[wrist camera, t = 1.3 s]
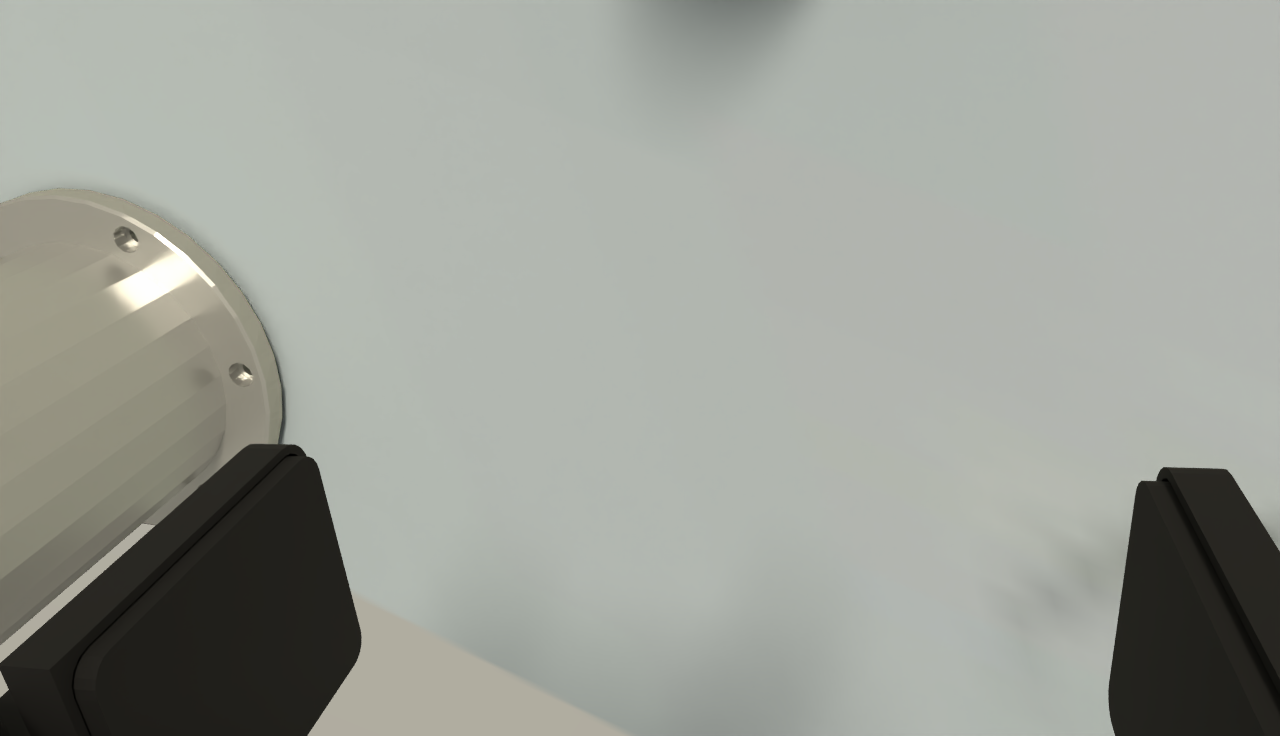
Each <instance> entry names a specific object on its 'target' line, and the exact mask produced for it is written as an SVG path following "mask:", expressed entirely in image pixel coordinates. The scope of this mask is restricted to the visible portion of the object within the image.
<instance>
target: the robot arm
mask: <svg viewBox="0 0 1280 736" xmlns="http://www.w3.org/2000/svg"><path fill="white" fill-rule="evenodd" d="M281 423H282V389H281V383H280V379H279V375H278V370H277V366H276V361H275V357H274V354H273V352H272V349H271V347H270V344H269V342H268V339H267V337H266V335H265V332H264V330H263V327H262V325H261V323H260V321H259V319H258V318H257V316H256V314H255V313H254V311H253V310H252V308H251V306H250V305H249V303H248V301H247V300H246V298H245V296H244V295H243V293H242V291H241V290H240V289H239V288H238V287H237V285H236V284H235V283H234V282H233V281H232V279H231V278H230V277H229V276H228V275H227V273H226V272H225V271H224V270H223V268H222V267H221V266H220V265H219V264H218V262H217V261H216V260H214V259H213V258H212V257H211V256H210V255H209V254H208V253H207V252H206V251H204V250H203V249H202V248H201V247H200V246H199V245H198V244H197V243H196V242H195V241H193V240H192V239H191V238H190V237H189V236H188V235H186V234H185V233H183V232H182V231H180V230H179V229H177V228H176V227H174V226H173V225H171V224H170V223H168V222H167V221H165V220H164V219H162V218H161V217H159V216H158V215H156V214H154V213H152V212H150V211H148V210H146V209H143V208H141V207H139V206H137V205H135V204H133V203H130V202H128V201H126V200H124V199H121V198H117V197H113V196H110V195H106V194H102V193H98V192H95V191H91V190H78V189H62V188H57V189H50V190H44V191H38V192H32V193H28V194H25V195H23V196H20V197H17V198H15V199H12V200H9V201H6V202H3V203H0V645H1V644H2V643H3V642H5V641H6V640H7V639H8V638H9V637H10V636H11V635H13V634H14V633H15V632H16V631H17V630H18V629H20V628H21V627H22V626H23V625H24V624H26V623H27V622H28V621H29V620H30V619H31V618H33V617H34V616H35V615H36V614H37V613H38V612H40V611H41V610H42V609H43V608H44V607H45V606H46V605H48V604H49V603H50V602H51V601H52V600H53V599H55V598H56V597H57V596H58V595H59V594H61V593H62V592H63V591H64V590H65V589H66V588H67V587H69V586H70V585H71V584H72V583H73V582H74V581H76V580H77V579H78V578H79V577H80V576H81V575H83V574H84V573H85V572H86V571H87V570H89V569H90V568H91V567H92V566H93V565H94V564H95V563H97V562H98V561H99V560H100V559H101V558H102V557H104V556H105V555H106V554H107V553H108V552H109V551H111V550H112V549H113V548H114V547H115V546H116V545H118V544H119V543H120V542H121V541H122V540H123V539H125V538H126V537H127V536H128V535H129V534H130V533H131V532H133V531H134V530H135V529H136V528H137V527H139V526H140V525H141V524H142V523H144V524H151V525H156V526H155V527H154V528H152V529H151V530H150V531H149V532H148V533H147V534H146V535H145V536H144V537H142V538H141V539H140V540H139V541H138V542H137V543H136V544H135V545H133V546H132V547H131V548H130V549H129V550H128V551H127V552H125V553H124V554H123V555H122V556H121V557H120V558H119V559H117V560H116V561H115V562H114V563H113V564H112V565H111V566H110V567H109V568H107V569H106V570H105V571H104V572H103V573H102V574H101V575H99V576H98V577H97V578H96V579H95V580H94V581H93V582H92V583H90V584H89V585H88V586H87V587H86V588H85V589H84V590H83V591H81V592H80V593H79V594H78V595H77V596H76V597H74V598H73V599H72V600H71V601H70V602H69V603H68V604H67V605H66V606H65V607H63V608H62V609H61V610H60V611H59V612H58V613H56V614H55V615H54V616H53V617H52V618H51V619H50V620H49V621H47V622H46V623H45V624H44V625H43V626H42V627H41V628H40V629H38V630H37V631H36V632H35V633H34V634H33V635H32V636H30V637H29V638H28V639H27V640H26V641H25V642H24V643H23V644H21V645H20V646H19V647H18V648H17V649H16V650H15V651H14V652H12V653H11V654H10V655H9V656H8V657H7V658H6V659H4V660H3V661H2V662H1V663H0V671H1V673H2V675H3V677H4V680H5V682H6V684H7V686H8V688H9V690H8V691H7V692H6V693H5V694H4V695H3V696H2V697H1V698H0V736H307V735H308V734H309V732H310V731H311V729H312V727H313V726H314V725H315V723H316V722H317V720H318V719H319V717H320V716H321V714H322V713H323V711H324V710H325V708H326V706H327V705H328V704H329V702H330V701H331V699H332V697H333V696H334V695H335V693H336V692H337V690H338V689H339V687H340V685H341V684H342V683H343V681H344V680H345V678H346V677H347V675H348V674H349V672H350V670H351V669H352V668H353V666H354V665H355V663H356V661H357V659H358V656H359V653H360V648H361V630H360V627H359V622H358V619H357V615H356V611H355V607H354V603H353V599H352V595H351V591H350V587H349V584H348V580H347V576H346V572H345V568H344V564H343V560H342V556H341V553H340V549H339V545H338V541H337V537H336V533H335V529H334V525H333V522H332V518H331V514H330V510H329V506H328V502H327V498H326V494H325V491H324V487H323V483H322V479H321V475H320V471H319V468H318V465H317V463H316V462H315V461H314V459H312V458H310V457H306V454H305V452H304V451H303V450H302V449H301V448H300V447H298V446H297V445H287V444H278V439H279V434H280V428H281ZM1109 711H1110V718H1111V722H1112V726H1113V730H1114V733H1115V736H1280V551H1279V550H1278V548H1277V546H1276V545H1275V543H1274V542H1273V540H1272V539H1271V537H1270V535H1269V534H1268V532H1267V531H1266V529H1265V527H1264V526H1263V524H1262V523H1261V521H1260V519H1259V518H1258V516H1257V515H1256V513H1255V511H1254V510H1253V508H1252V507H1251V505H1250V503H1249V502H1248V500H1247V499H1246V497H1245V496H1244V494H1243V492H1242V491H1241V489H1240V488H1239V486H1238V484H1237V483H1236V481H1235V480H1234V478H1233V476H1232V475H1231V474H1230V473H1229V472H1228V470H1226V469H1210V468H1172V467H1163V468H1162V469H1161V470H1160V472H1159V474H1158V476H1157V480H1156V481H1141V482H1140V483H1139V484H1138V487H1137V490H1136V495H1135V502H1134V509H1133V516H1132V523H1131V530H1130V537H1129V545H1128V552H1127V559H1126V566H1125V573H1124V580H1123V588H1122V595H1121V602H1120V609H1119V616H1118V624H1117V631H1116V638H1115V645H1114V652H1113V659H1112V667H1111V674H1110V681H1109Z"/></svg>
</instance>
